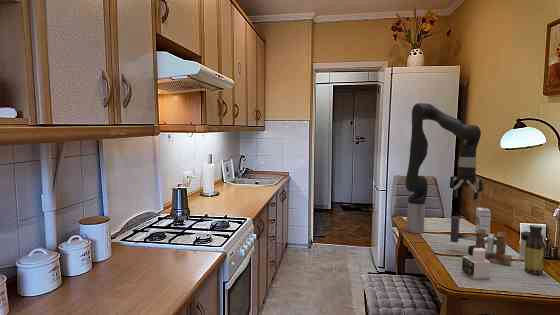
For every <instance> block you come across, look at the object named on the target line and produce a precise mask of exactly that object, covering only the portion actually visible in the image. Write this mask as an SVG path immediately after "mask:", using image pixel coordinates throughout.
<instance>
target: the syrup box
mask: <svg viewBox="0 0 560 315" xmlns="http://www.w3.org/2000/svg"><path fill="white" fill-rule="evenodd" d="M475 209H476V211H475V212H476V213H475V232H476V233H477V231H478V229H483V230H486V235H487V236H489V234H491V209H489V208H487V207H476V208H475Z"/></svg>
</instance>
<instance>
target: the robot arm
mask: <svg viewBox="0 0 560 315" xmlns="http://www.w3.org/2000/svg"><path fill="white" fill-rule="evenodd" d="M424 120H425V121H427V120H429V121H433V122H436V123H437V124H438V125H439V126H440V127H441V128H442V129H445V130H446V131H449V132H451V133H452V134H453V135H454V136H455V137H456V138H458V139H461V140H465V143H464V144H462V145H460V146H459V156H458V166H457V176H454V175H452V176H450V177H449V180H450V181H449V189H452V190H453V197H454V198H458V191H459V190H458V189H459V188H460V187H467V188H471V189H472V190H473V191H474V192H473V200H474V201H476V200H477V199H479V193H481V192H483V191H484V179H483V178H476V170H477V148H478V145H479V142H480V140H481V135H482V131H481V128H480V127H479V126H478V125H477V124H464V123H463V121H461V120H460V119H459V118H456V117H453V116H451V115H449V114H446V113H444V112H443V111H441V110H440V109H438V108H437V107H436V106H434V105H433V104H431V103H423V102H422V103H421V102H418V103H415V104H414V106H412V111H411V135H410V136H411V138H410V145H409V159H408V165H407V166H408V167H407V171H406V177H405V187H406V190H407V191H408V192H410V193H412V195H410V196H409V197H408V198H407V215H406V217H405V218H406V222H405V223H406V225H405V231H406V232H409V233H413V234H424V233H425V213H426V212H425V208H426V200H427V194H428V188H429V187H428V185H429V184H428V180H427V179H426V177H425V176H424V175H419V170H420V168H421V166H422V164H423V163H424V161H425V159H426V157H427V156H428V155H427V154H428V149H429V148H428V147H429V143H428V139H427V137H426V135H425V132H424V128H423V125H424V123H423V122H424ZM455 181H457V182H458V183H456V185H455ZM476 183H477V184H478V187H477V186H476Z"/></svg>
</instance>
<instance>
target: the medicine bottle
mask: <svg viewBox="0 0 560 315" xmlns="http://www.w3.org/2000/svg"><path fill="white" fill-rule="evenodd" d="M485 251H486V248H485V249H484V248H482V247H480V246H476V244H475V245H474V244H473V245H469V246H468V248H467V255H462V263H461V264H462V266H461V267H462V268H461V272H462V273H463V274H465V275H466V276H468V277H469V278H471V279H472V280H485V279H490V277H491V274H490V273H491V262H490V261H488V260H486V259H485Z"/></svg>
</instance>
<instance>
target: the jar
mask: <svg viewBox="0 0 560 315" xmlns="http://www.w3.org/2000/svg"><path fill="white" fill-rule="evenodd" d="M529 236H530V231H521V232H520V244H519V246H520V247H519V260H522V261H524V262H525V247H526V240H527V239H528V237H529ZM541 239H542V240H543V241H544V235H542V234H541Z"/></svg>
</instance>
